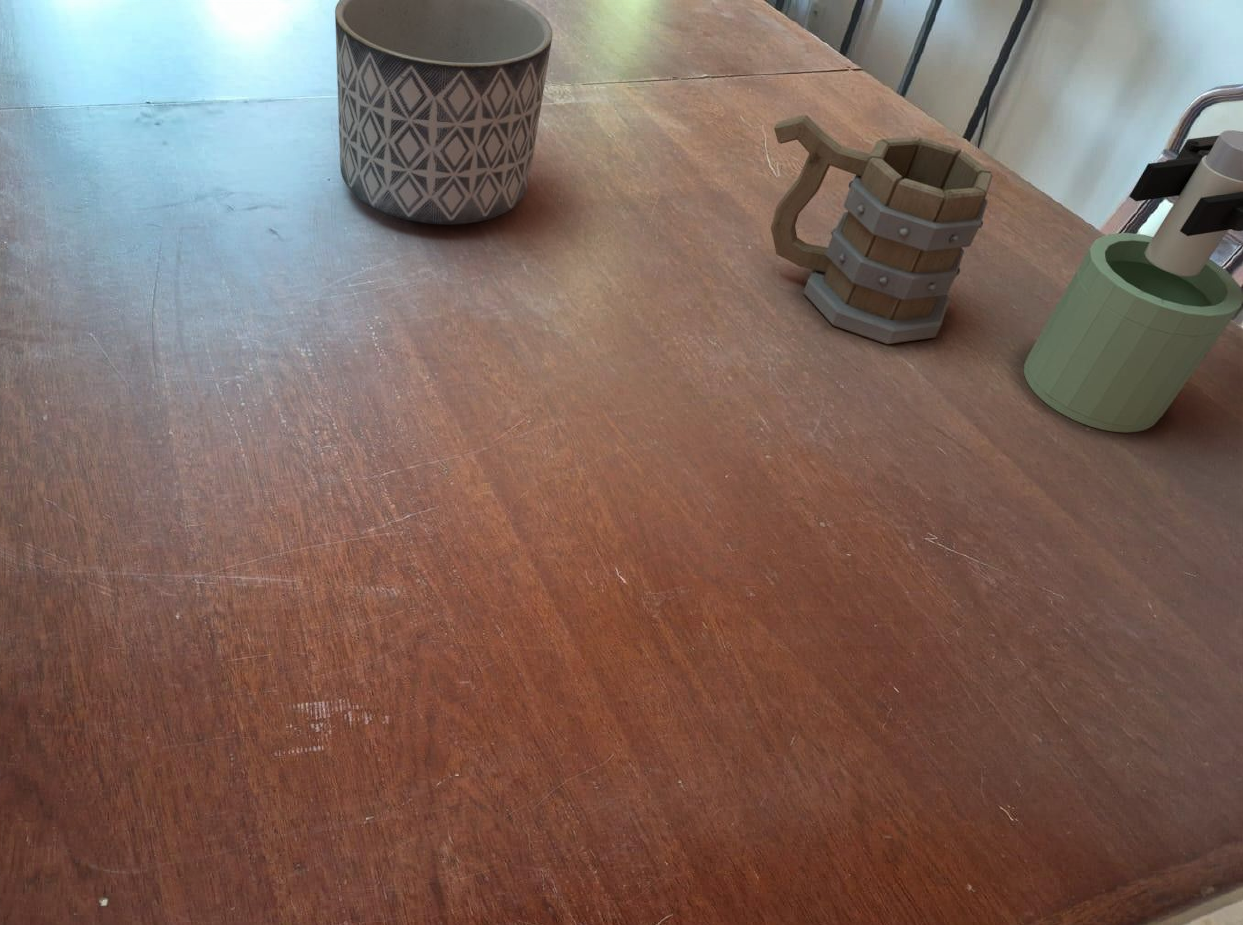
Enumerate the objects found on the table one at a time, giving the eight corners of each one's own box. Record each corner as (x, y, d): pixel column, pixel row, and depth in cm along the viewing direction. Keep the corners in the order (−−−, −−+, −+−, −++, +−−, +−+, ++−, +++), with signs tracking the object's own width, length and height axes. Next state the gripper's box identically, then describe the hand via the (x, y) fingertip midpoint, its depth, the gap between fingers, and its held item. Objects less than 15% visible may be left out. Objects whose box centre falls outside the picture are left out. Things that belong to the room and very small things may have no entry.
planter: (500, 261, 98) (521, 83, 86) (305, 212, 100) (300, 32, 88) (549, 170, 111) (573, 5, 99) (376, 129, 113) (379, -37, 101)
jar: (1127, 355, 99) (1202, 240, 91) (1183, 438, 91) (1271, 321, 82) (1005, 342, 98) (1069, 226, 90) (1050, 426, 90) (1125, 306, 81)
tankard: (948, 293, 103) (1019, 146, 92) (928, 359, 95) (1002, 206, 84) (754, 230, 107) (799, 82, 97) (717, 287, 99) (763, 132, 88)
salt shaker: (1185, 249, 87) (1262, 132, 80) (1210, 279, 84) (1291, 159, 77) (1135, 244, 87) (1207, 125, 79) (1157, 273, 84) (1235, 153, 76)
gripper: (1427, 269, 85) (1229, 307, 77) (1251, 163, 95) (1061, 187, 87) (1502, 182, 79) (1297, 213, 71) (1306, 80, 90) (1109, 97, 82)
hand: (1168, 199), depth 79 cm, fingers closed on salt shaker, 4 cm apart
